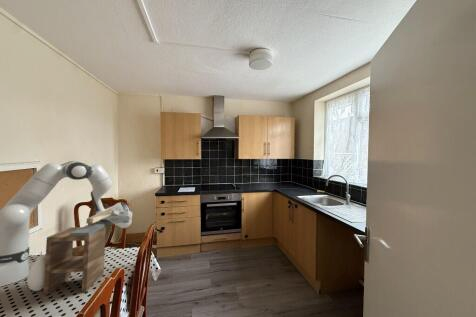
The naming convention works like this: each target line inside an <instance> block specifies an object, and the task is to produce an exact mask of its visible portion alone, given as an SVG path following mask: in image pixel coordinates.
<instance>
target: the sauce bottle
mask: <svg viewBox="0 0 476 317" xmlns="http://www.w3.org/2000/svg"><path fill="white" fill-rule="evenodd" d="M45 258H46V255H43V253H42V251H40V256H38V257H37V258H36V260H35V261H34V262H33V263H32V265H31V267H30V271H29V273H28V276H27V277H26V278H27V279H26V285H27V287H28V289H29V290H31V291H34V292H39V291H41V290H42V289H43V290H44V274H45Z"/></svg>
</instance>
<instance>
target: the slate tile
mask: <svg viewBox="0 0 476 317" xmlns="http://www.w3.org/2000/svg"><path fill="white" fill-rule="evenodd" d="M81 227H82V228H80V229H78V230H76V231H74V232H72V233H70V236H89V235H91V234H93V233H95V232H96V231H98V230H100V229H102V228H103V227H105V224H103V223H101V224H94V223H90V224H87V225H84V226H81Z"/></svg>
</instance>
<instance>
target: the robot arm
mask: <svg viewBox="0 0 476 317" xmlns="http://www.w3.org/2000/svg"><path fill="white" fill-rule="evenodd" d="M64 178H69V179H71V180H74V181H76V180H77V181H79V180H85V179H87V180H88V181H89V183H90V185H91V187H92V190H91V192H90V197H91V201H92V204H93V206H94V208H95V211H96V213H95V215H97V214H99V213H101V212H104V211H106V210H108V209H115V210H112V214H111V215H109V216H107V217H105V218H103V219H101V220H99V221H98V222H99V223H101V224H104V225H107V224H110V223H112V224H113V225H116V226H117V227H119V228H121V229H126V228H128V227H130V226H131V224H132V223H133V220H132V218H133V211H131V210H130V207H129V205H127V203H126V202H122V201H121V202H118V203H115V204H114V205H112V206H110V207H107V208H105V207H104V205H103V201H102V200H101V199H102V197H103V196H104V195H105V194H106V193H108V192H109V191H110V189H111V188H112V186H113V181H112V179H111V177H110V175H109V173H108V172H107V171H106V169H105V168H104V167H103V166H102V165H101V164H92V165H88V164H86V163H84V162H82V161H79V160H71V161H66V162H65V163H62V164H58V163H54V162H53V163H52V162H50V163H47V164H45V165H43V166H42V167H41V168H39V169H38V170H37V171H36V172H35V173H34V174H33V175H32V176H31V177H30V178H29V179H28V181H26V183H24V185H23V186H22V187H21V188H20V189H19V190H18V191H17V192H16V193H15V194H14V195H13V197H11V198H10V199H9V201H8V202H6V204H5V205H4V206H3V207H2V208H1V209H0V288H1V287H4V286H7V285H8V286H9V285H11V284H14V283H17V282H19V281H20V282H21V281H22V280H23V279H26V278H27V277H28V273H29V271H30V269H31V267H30V262H29V255H30V247H29V243H30V242H29V240H30V218H31V214H32V213H33V211H35V209H36V208H37V207H38V206H39V204H41V202H43V201H44V199H45V198H46V197H47V196H48V195H49V194H50V193H51V192H52V191H53V189H54V188H55V187H56V186H57V184H58V183H59V182H60V181H61V180H63V179H64Z"/></svg>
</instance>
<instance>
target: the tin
mask: <svg viewBox="0 0 476 317" xmlns="http://www.w3.org/2000/svg"><path fill="white" fill-rule="evenodd" d="M72 256H84V244H83V245H79V246H75V247H73V250H72Z"/></svg>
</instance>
